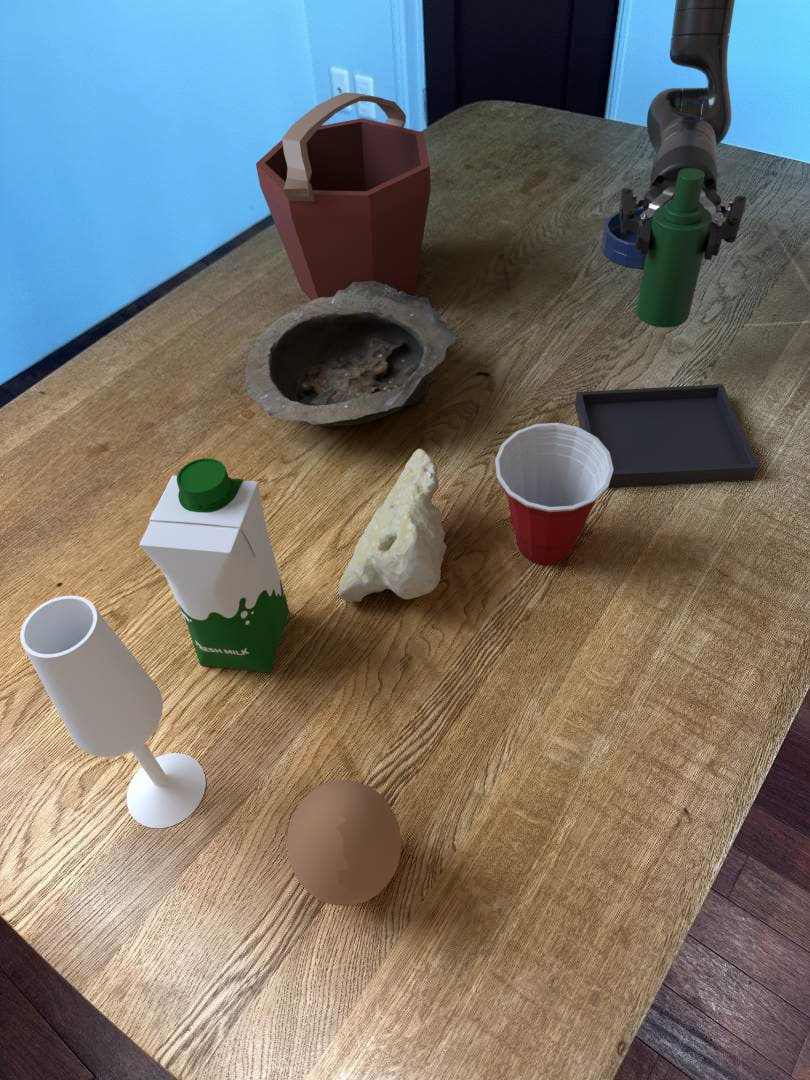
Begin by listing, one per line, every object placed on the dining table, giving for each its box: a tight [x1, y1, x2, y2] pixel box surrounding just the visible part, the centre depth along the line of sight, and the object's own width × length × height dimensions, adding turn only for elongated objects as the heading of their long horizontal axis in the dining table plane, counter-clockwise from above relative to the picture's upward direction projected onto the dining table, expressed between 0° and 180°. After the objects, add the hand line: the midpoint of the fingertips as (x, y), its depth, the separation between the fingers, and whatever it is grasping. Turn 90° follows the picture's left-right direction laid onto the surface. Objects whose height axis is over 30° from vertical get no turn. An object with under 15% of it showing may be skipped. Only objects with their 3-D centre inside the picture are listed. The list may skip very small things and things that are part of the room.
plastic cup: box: [494, 422, 614, 566], centre depth 79 cm, size 11×11×12 cm
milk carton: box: [139, 457, 290, 674], centre depth 71 cm, size 9×9×20 cm
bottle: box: [635, 168, 712, 329], centre depth 89 cm, size 6×6×16 cm
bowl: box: [601, 207, 646, 270], centre depth 118 cm, size 11×11×4 cm
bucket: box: [255, 92, 432, 302], centre depth 109 cm, size 24×22×25 cm
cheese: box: [338, 448, 448, 603], centre depth 81 cm, size 15×7×15 cm
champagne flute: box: [19, 595, 207, 829], centre depth 60 cm, size 7×7×24 cm
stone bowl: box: [244, 281, 457, 427], centre depth 99 cm, size 25×25×9 cm
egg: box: [286, 779, 402, 907], centre depth 59 cm, size 8×8×11 cm
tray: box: [574, 383, 759, 488], centre depth 92 cm, size 17×14×2 cm
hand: (677, 249), depth 87 cm, fingers closed on bottle, 6 cm apart
